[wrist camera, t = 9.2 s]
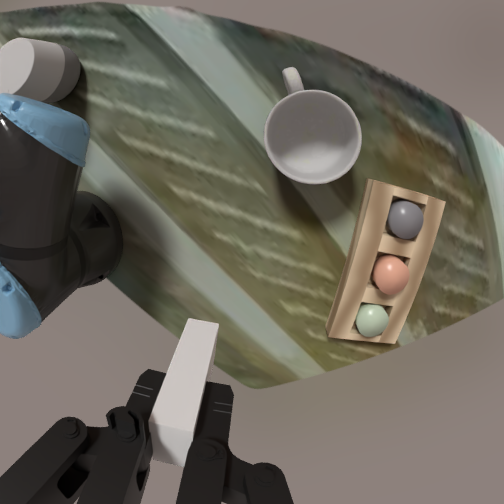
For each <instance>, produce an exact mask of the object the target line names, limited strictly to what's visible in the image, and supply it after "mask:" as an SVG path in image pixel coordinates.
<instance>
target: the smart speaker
mask: <svg viewBox="0 0 504 504" xmlns="http://www.w3.org/2000/svg"><path fill="white" fill-rule="evenodd" d="M79 75H80V62H79V59H78V57H77V55H76V54H75V53H74V52H73V51H72V50H71V49H69V48H68V47H65V46H63V45H59V44H56V43H51V42H45V41H39V40H33V39H26V38H16V39H13V40H11V41H9V42H8V43H6V44H5V45H4V46H3V47H2V48H1V49H0V94H1V93H9V94H12V95H18V96H22V97H26V98H30V99H33V100H36V101H40V102H43V103H53V102H56V101H59V100H61V99H63V98H64V97H66V96H67V95H68V94H69V93H70V92H71V91H72V90H73V89H74V87H75V85H76V83H77V81H78V79H79Z"/></svg>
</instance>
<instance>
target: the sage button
mask: <svg viewBox="0 0 504 504" xmlns="http://www.w3.org/2000/svg"><path fill="white" fill-rule="evenodd" d="M388 322H389V317H388V314H387V313H386V311H385V310H384V308H383V306H382V305H380V304H373V303H366V302H362V303H361V304H360V307H359V310H358V313H357V315H356V318H355V323H356V325H357V328H358V330H359V332H360V333H361V334H362V335H363V336H366V337H374V336H377V335H379V334H380V333H382V332H383V331H384V330H385V329H386V327H387V325H388Z"/></svg>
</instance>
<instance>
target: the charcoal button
mask: <svg viewBox="0 0 504 504" xmlns="http://www.w3.org/2000/svg"><path fill="white" fill-rule="evenodd" d="M423 221H424V218H423V213H422V211H421V209H420V208H419V207H418V206H417V205H415V204H413V203H411V202H409V201H407V200H404V199H396V200H394V201H392V202H391V205H390V209H389V213H388V217H387V220H386V226H387V228H388V229H389V230H391V231H392V232H393V233H394V234H396V235H397V236H398V237H400V238H402V239H411V238H413V237H415V236H416V235H417V234H418V233H419V232H420V230H421V229H422V226H423Z"/></svg>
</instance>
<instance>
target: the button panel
mask: <svg viewBox="0 0 504 504" xmlns="http://www.w3.org/2000/svg"><path fill="white" fill-rule="evenodd" d="M396 199H404V200H407V201H409V202H411V203H413V204H415V205H417V206H418V207H419V208H420V209H421V211H422V213H423V218H424V221H423V226H422V229H421V230H420V232H419V233H418V234H417V235H416V236H415V237H413V238H411V239H402V238H400V237H398V236H397V235H396V234H394V233H393V232H392V231H391V230H389V229H388V228H387V226H386V220H387V217H388V213H389V209H390V205H391V202H392V201H394V200H396ZM444 206H445V202H444V201H442V200H439V199H437V198H434V197H431V196H428V195H425V194H422V193H418V192H415V191H412V190H408V189H405V188H401V187H398V186H394V185H391V184H387V183H384V182H380V181H376V180H372V179H369V178H367V179H366V184H365V188H364V193H363V197H362V201H361V205H360V209H359V213H358V217H357V221H356V225H355V229H354V233H353V237H352V240H351V244H350V248H349V251H348V255H347V259H346V262H345V266H344V269H343V272H342V276H341V279H340V282H339V286H338V289H337V292H336V295H335V299H334V302H333V305H332V308H331V311H330V314H329V317H328V320H327V323H326V326H325V327H326V330H327V334H328V337H332V338H341V339H350V340H360V341H370V342H381V343H393V344H395V342H396V340H397V338H398V336H399V333H400V331H401V329H402V327H403V324H404V322H405V320H406V317H407V315H408V313H409V310H410V308H411V305H412V303H413V300H414V298H415V295H416V293H417V290H418V288H419V285H420V282H421V280H422V277H423V274H424V271H425V268H426V266H427V263H428V260H429V257H430V254H431V251H432V248H433V244H434V241H435V238H436V235H437V231H438V228H439V224H440V221H441V217H442V214H443V210H444ZM385 254H393V255H395V256H397V257H398V258H399V259H400V260H401V261H402V262H403V263H404V264H405V265H406V266H407V267H408V269H409V274H410V276H409V281H408V283H407V285H406V286H405V288H404V289H403V290H401V291H400V292H398V293H396V294H392V295H389V294H385V293H383V292H382V291H381V290H380V289H379V287H378V286H377V285H376V283H375V282H374V280H373V279H372V276H371V272H372V268H373V265H374V262H375V261H376V260H377V259H378V258H379V257H380V256H382V255H385ZM362 302H366V303H373V304H380V305H382V306H383V308H384V310H385V311H386V313H387V314H388V317H389V322H388V325H387V327H386V329H385V330H384V331H383V332H382V333H380V334H379V335H377V336H374V337H366V336H363V335H362V334H361V333H360V332H359V330H358V328H357V325H356V323H355V318H356V315H357V313H358V310H359V307H360V304H361V303H362Z"/></svg>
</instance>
